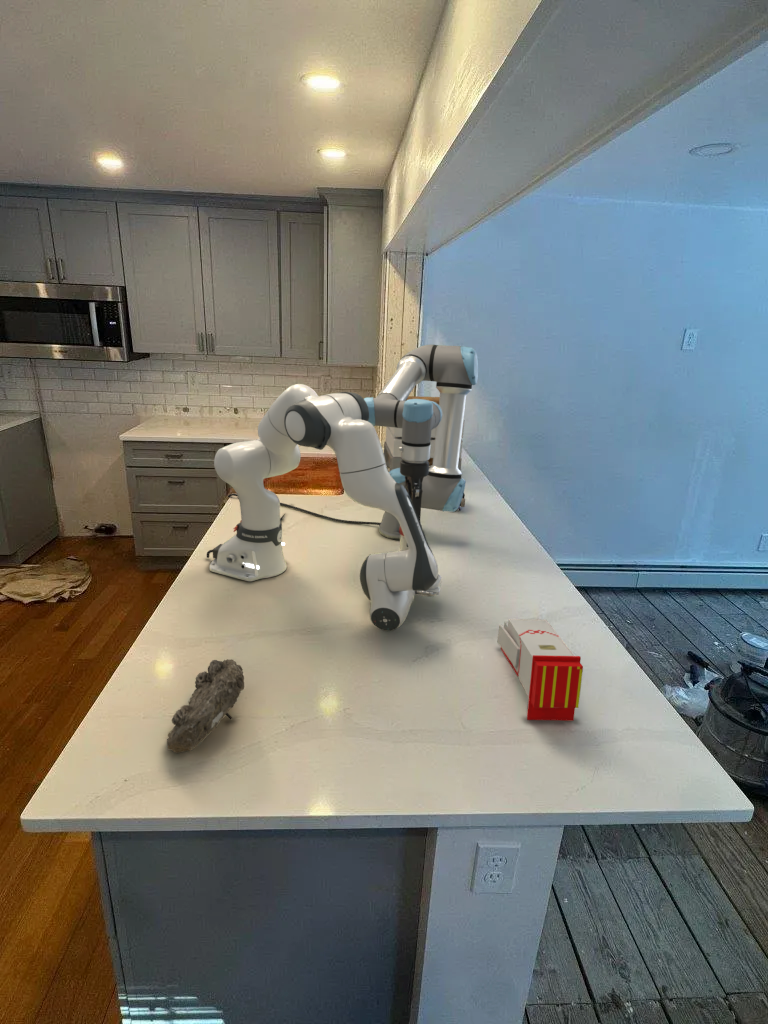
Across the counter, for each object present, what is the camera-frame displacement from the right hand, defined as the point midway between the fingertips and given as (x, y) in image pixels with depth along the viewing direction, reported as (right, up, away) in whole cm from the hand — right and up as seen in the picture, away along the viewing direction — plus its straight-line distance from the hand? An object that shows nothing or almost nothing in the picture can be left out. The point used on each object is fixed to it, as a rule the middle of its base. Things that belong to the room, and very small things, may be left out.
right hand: (409, 541), depth 156 cm
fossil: (-40, -31, -48) cm, 70 cm away
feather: (-44, +6, +55) cm, 71 cm away
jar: (-1, -14, +5) cm, 15 cm away
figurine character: (+22, +10, +74) cm, 78 cm away
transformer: (+10, +27, +119) cm, 122 cm away
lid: (0, +4, -1) cm, 4 cm away
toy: (+25, -28, -32) cm, 50 cm away
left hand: (0, -8, +4) cm, 9 cm away
